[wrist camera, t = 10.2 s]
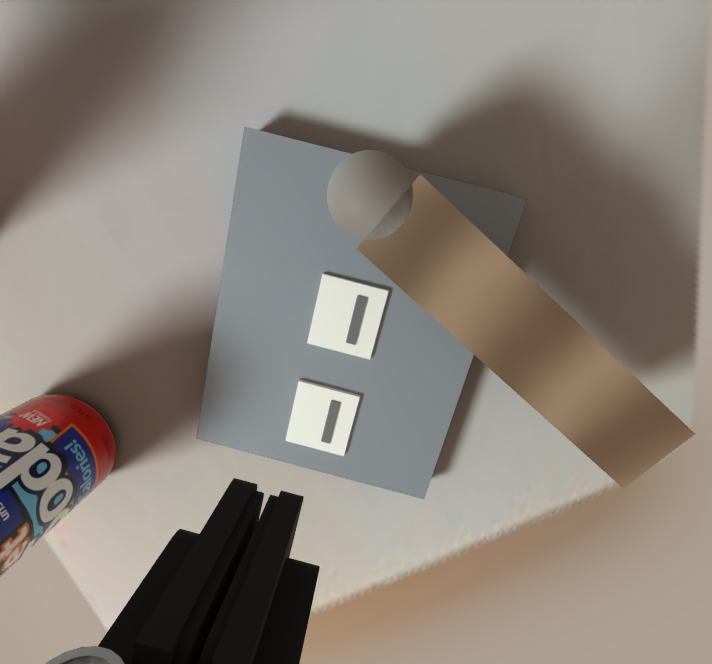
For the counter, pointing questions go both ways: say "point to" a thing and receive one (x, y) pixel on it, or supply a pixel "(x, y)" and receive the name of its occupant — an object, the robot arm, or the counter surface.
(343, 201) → the swing arm
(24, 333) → the counter surface
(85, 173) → the counter surface
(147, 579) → the robot arm
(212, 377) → the label board
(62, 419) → the soda can
